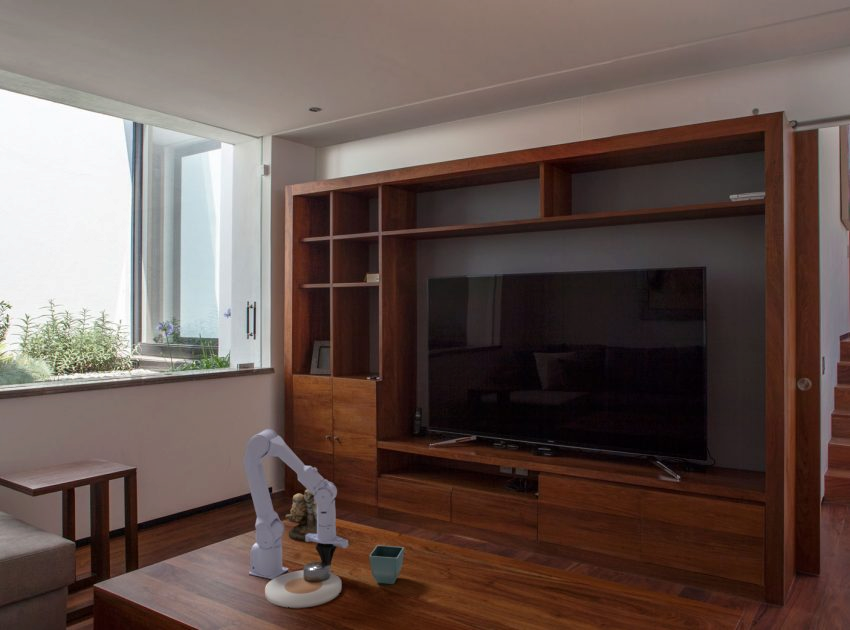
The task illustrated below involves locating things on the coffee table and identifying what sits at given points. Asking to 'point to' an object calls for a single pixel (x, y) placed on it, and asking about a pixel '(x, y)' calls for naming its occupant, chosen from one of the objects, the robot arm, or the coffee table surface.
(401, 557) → the flower pot
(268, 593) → the turntable
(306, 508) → the owl figurine
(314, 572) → the cast cover
